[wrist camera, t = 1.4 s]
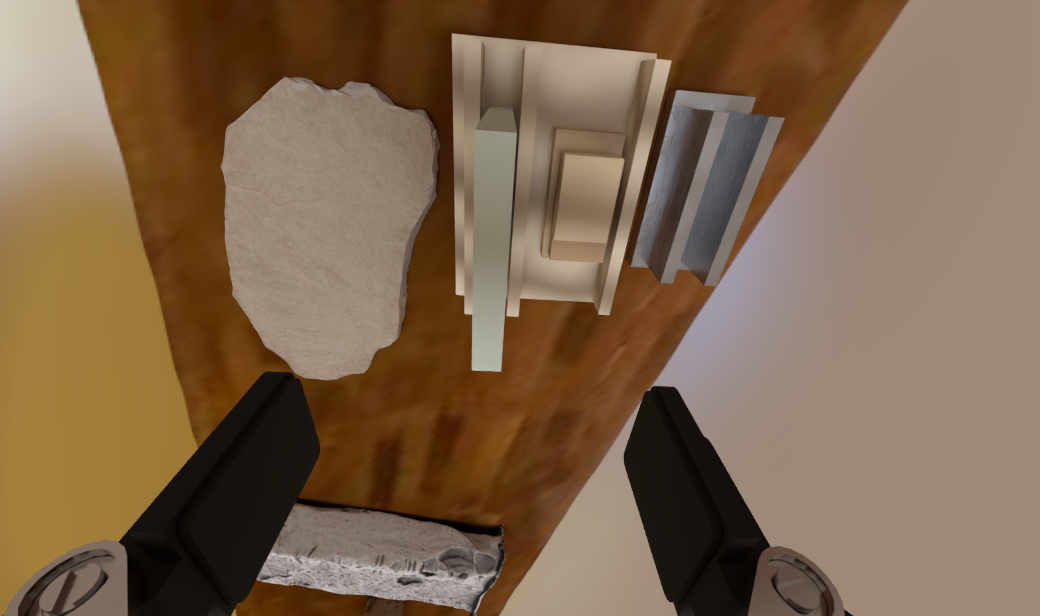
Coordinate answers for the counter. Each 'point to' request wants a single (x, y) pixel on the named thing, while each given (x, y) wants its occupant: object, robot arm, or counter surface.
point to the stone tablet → (326, 219)
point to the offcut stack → (581, 193)
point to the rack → (550, 150)
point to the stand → (700, 183)
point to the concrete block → (384, 557)
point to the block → (384, 607)
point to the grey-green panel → (491, 233)
